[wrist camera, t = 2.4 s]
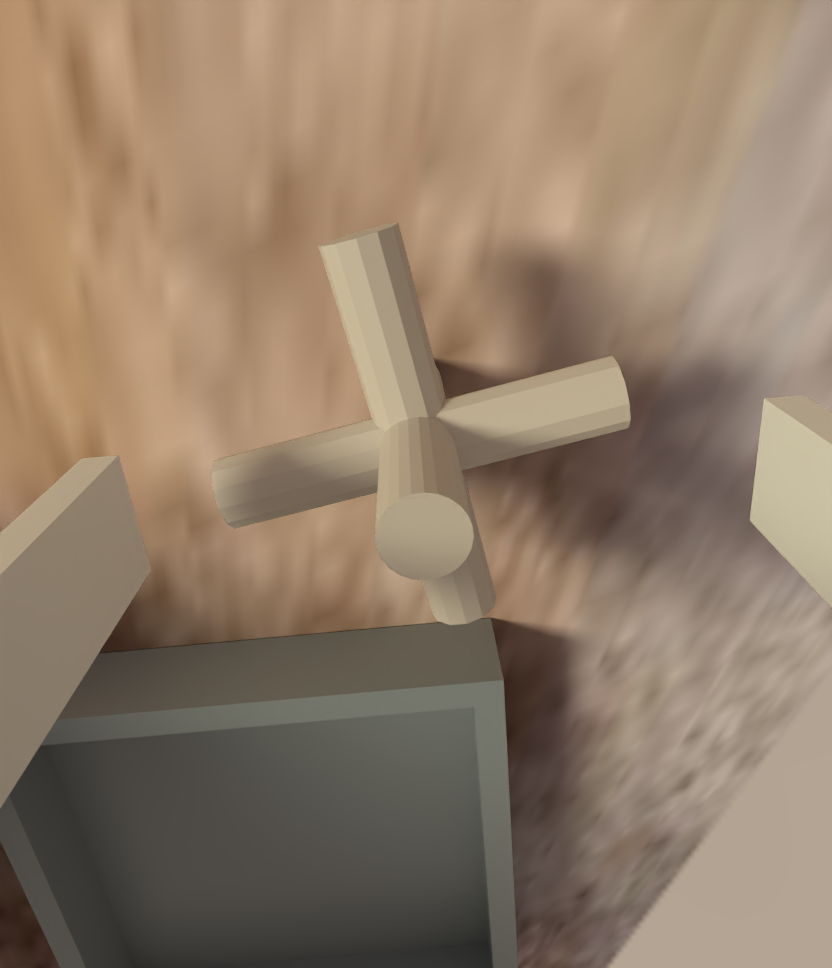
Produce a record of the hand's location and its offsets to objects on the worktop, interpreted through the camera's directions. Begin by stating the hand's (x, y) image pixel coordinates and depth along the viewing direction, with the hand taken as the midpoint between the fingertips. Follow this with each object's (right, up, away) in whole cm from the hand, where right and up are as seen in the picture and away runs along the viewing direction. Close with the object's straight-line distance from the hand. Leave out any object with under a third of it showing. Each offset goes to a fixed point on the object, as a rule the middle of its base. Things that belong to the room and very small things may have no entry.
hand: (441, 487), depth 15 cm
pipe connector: (-1, +3, +8) cm, 8 cm away
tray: (-6, -14, +15) cm, 21 cm away
